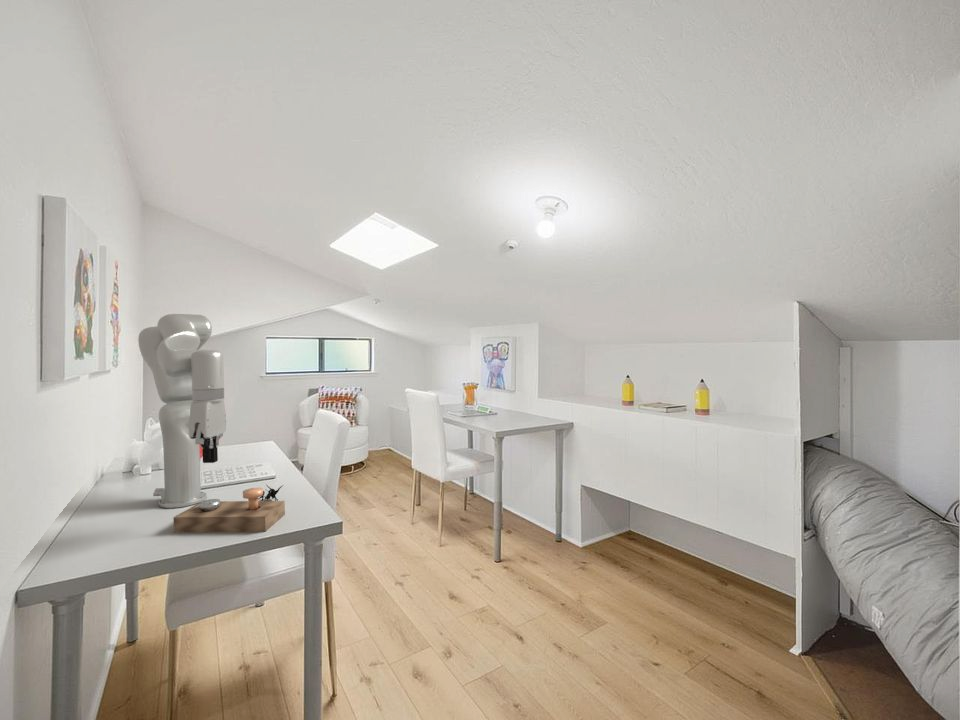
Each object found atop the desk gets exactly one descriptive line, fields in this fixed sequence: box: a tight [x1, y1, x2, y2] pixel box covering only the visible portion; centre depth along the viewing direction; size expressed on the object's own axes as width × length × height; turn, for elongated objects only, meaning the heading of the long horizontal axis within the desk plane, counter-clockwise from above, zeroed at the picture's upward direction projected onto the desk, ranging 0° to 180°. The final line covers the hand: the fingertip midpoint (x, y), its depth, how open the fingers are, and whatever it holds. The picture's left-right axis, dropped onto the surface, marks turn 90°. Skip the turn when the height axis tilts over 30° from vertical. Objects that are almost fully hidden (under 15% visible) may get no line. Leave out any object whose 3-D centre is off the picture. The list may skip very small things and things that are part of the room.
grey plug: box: [199, 498, 221, 511], centre depth 125 cm, size 5×5×5 cm
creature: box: [258, 484, 284, 501], centre depth 142 cm, size 8×5×8 cm
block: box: [172, 500, 286, 533], centre depth 125 cm, size 24×12×4 cm, turn 90°
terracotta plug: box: [242, 487, 264, 511], centre depth 125 cm, size 5×5×5 cm
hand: (210, 461), depth 125 cm, fingers closed
